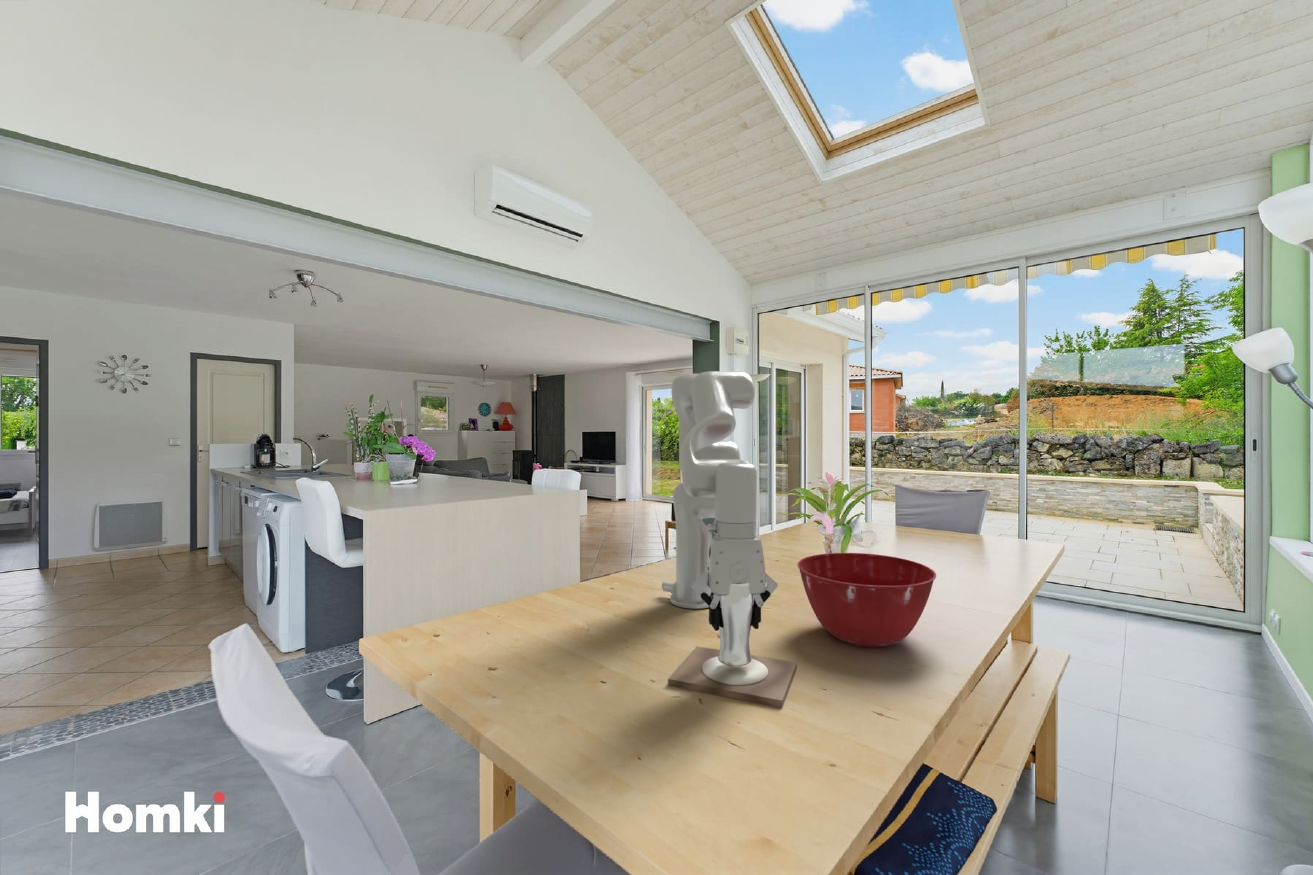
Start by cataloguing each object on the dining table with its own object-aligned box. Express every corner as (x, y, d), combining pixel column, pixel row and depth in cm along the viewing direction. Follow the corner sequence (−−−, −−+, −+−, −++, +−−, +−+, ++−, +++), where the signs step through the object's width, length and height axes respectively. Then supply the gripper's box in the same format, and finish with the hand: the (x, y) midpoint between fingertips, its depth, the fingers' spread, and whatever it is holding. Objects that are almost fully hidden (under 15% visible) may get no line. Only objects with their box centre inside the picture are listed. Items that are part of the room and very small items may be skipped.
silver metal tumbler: (756, 655, 104) (757, 575, 103) (750, 670, 97) (751, 585, 97) (720, 650, 106) (720, 572, 106) (711, 664, 99) (712, 581, 99)
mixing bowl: (861, 673, 103) (862, 590, 103) (771, 623, 129) (771, 557, 129) (966, 649, 115) (967, 575, 114) (864, 608, 141) (864, 548, 140)
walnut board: (668, 685, 98) (668, 677, 98) (696, 651, 113) (696, 644, 113) (782, 707, 90) (782, 698, 90) (796, 668, 105) (796, 660, 105)
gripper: (692, 535, 96) (692, 637, 96) (788, 533, 98) (787, 632, 99) (685, 527, 104) (684, 622, 104) (774, 525, 106) (773, 618, 106)
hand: (734, 626), depth 101 cm, fingers closed on silver metal tumbler, 6 cm apart
